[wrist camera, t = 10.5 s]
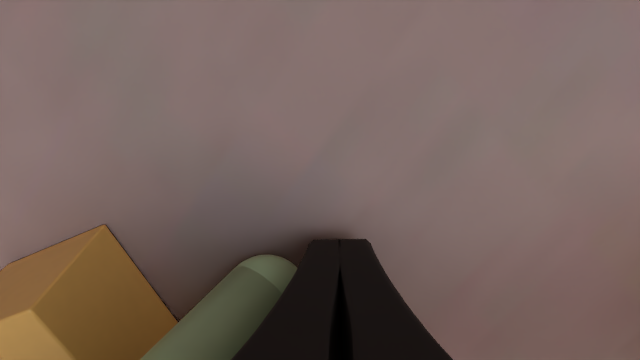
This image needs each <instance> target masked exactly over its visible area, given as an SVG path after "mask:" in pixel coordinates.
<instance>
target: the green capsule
mask: <svg viewBox="0 0 640 360" xmlns="http://www.w3.org/2000/svg"><path fill="white" fill-rule="evenodd" d="M296 270H297V267H296V266H295V265H294V264H293V263H291V262H290V261H288V260H286V259H284V258H282V257H280V256H275V255H258V256H254V257H251V258H249V259H247V260H245V261H243V262H241V263H240V264H239V265H237V266H236V267H235V268H234V269H233V270H232V271H231V272H230V273H229V274H228V275H227V276H226V277H225V278H224V279H223V280H222V281H221V282H219V283H218V284H217V285H216V286H215V287H214V288H213V289H212V290H211V291H210V292H209V293H208V294H207V295H206V296H205V297H204V298H203V299H202V300H201V301H200V302H199V303H198V304H197V305H196V306H195V307H194V308H193V309H192V310H191V311H189V312H188V313H187V314H186V315H185V316H184V317H183V318H182V319H181V320H180V321H179V322H178V323H177V324H176V325H175V326H174V327H173V328H172V329H171V330H170V331H169V332H168V333H167V334H166V335H165V336H164V337H163V338H162V339H161V340H159V341H158V342H157V343H156V344H155V345H154V346H153V347H152V348H151V349H150V350H149V351H148V352H147V353H146V354H145V355H144V356H143V357H142V358H141V359H140V360H231V359H232V358H233V357H234V356H235V354H236V353H237V352H238V351H239V350H240V349H241V348H242V347H243V345H244V344H245V343H246V342H247V341H248V340H249V338H250V337H251V336H252V335H253V333H254V332H255V331H256V330H257V328H258V327H259V326H260V324H261V323H262V322H263V320H264V319H265V318H266V316H267V315H268V313H269V312H270V311H271V309H272V308H273V307H274V305H275V304H276V302H277V301H278V299H279V298H280V296H281V295H282V293H283V292H284V290H285V288H286V287H287V285H288V284H289V282H290V280H291V279H292V277H293V276H294V274H295V272H296Z"/></svg>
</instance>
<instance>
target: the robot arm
mask: <svg viewBox="0 0 640 360" xmlns="http://www.w3.org/2000/svg"><path fill="white" fill-rule="evenodd" d="M231 360H453V359H452V358H451V357H450V356H449V355H448V354H447V353H446V352H445V350H444V349H443V348H442V347H441V346H440V345H439V344H438V343H437V342H436V340H435V339H434V338H433V337H432V336H431V335H430V333H429V332H428V331H427V330H426V329H425V327H424V326H423V325H422V324H421V322H420V321H419V320H418V319H417V317H416V316H415V315H414V314H413V312H412V311H411V309H410V308H409V307H408V305H407V304H406V303H405V301H404V300H403V298H402V297H401V296H400V294H399V293H398V291H397V290H396V288H395V287H394V285H393V284H392V282H391V281H390V279H389V278H388V276H387V274H386V273H385V271H384V269H383V268H382V266H381V264H380V262H379V260H378V259H377V257H376V255H375V253H374V250H373V248H372V246H371V243H369V242H368V241H367V240H366V239H336V240H313V241H312V242H311V243H310V244H309V245H308V248H307V250H306V253H305V255H304V257H303V259H302V261H301V263H300V265H299V267H298V268H297V270H296V272H295V274H294V276H293V277H292V279H291V280H290V282H289V284H288V285H287V287H286V288H285V290H284V292H283V293H282V295H281V296H280V298H279V299H278V301H277V302H276V304H275V305H274V307H273V308H272V309H271V311H270V312H269V313H268V315H267V316H266V318H265V319H264V320H263V322H262V323H261V324H260V326H259V327H258V328H257V330H256V331H255V332H254V333H253V335H252V336H251V337H250V338H249V340H248V341H247V342H246V343H245V344H244V345H243V347H242V348H241V349H240V350H239V351H238V352H237V353H236V354H235V356H234V357H233V358H232V359H231Z"/></svg>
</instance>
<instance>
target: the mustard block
mask: <svg viewBox="0 0 640 360" xmlns="http://www.w3.org/2000/svg"><path fill="white" fill-rule="evenodd" d="M177 323H178V322H177V321H176V319H175V318H174V317H173V315H172V314H171V313H170V311H169V310H168V309H167V307H166V306H165V305H164V303H163V302H162V300H161V299H160V298H159V296H158V295H157V294H156V292H155V291H154V290H153V288H152V287H151V286H150V284H149V283H148V282H147V280H146V279H145V278H144V276H143V275H142V274H141V272H140V271H139V270H138V268H137V267H136V266H135V264H134V263H133V261H132V260H131V259H130V257H129V256H128V255H127V253H126V252H125V251H124V249H123V248H122V247H121V245H120V244H119V243H118V241H117V240H116V239H115V237H114V236H113V235H112V233H111V232H110V231H109V229H108V228H107V226H106V225H101V226H99V227H97V228H94V229H92V230H89V231H87V232H85V233H82V234H80V235H77V236H75V237H73V238H70V239H68V240H65V241H63V242H61V243H58V244H56V245H53V246H51V247H49V248H46V249H44V250H41V251H39V252H37V253H34V254H32V255H29V256H27V257H25V258H22V259H20V260H17V261H15V262H13V263H10V264H8V265H7V266H6V267H5V268H3V269H2V270H1V271H0V360H140V359H141V358H142V357H143V356H144V355H145V354H146V353H147V352H148V351H149V350H150V349H151V348H152V347H153V346H154V345H155V344H156V343H157V342H158V341H159V340H161V339H162V338H163V337H164V336H165V335H166V334H167V333H168V332H169V331H170V330H171V329H172V328H173V327H174V326H175V325H176V324H177Z"/></svg>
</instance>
